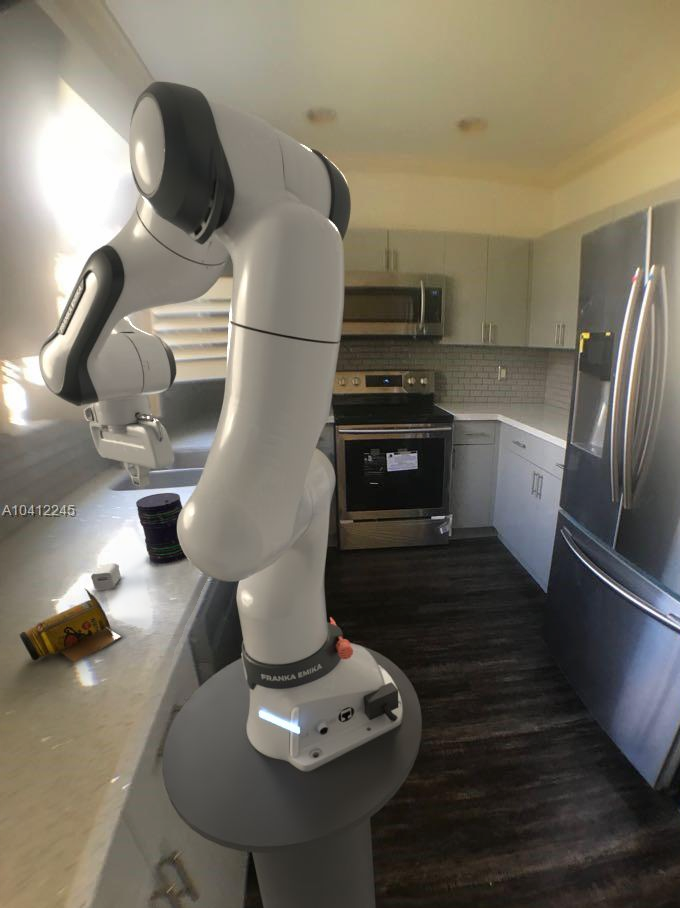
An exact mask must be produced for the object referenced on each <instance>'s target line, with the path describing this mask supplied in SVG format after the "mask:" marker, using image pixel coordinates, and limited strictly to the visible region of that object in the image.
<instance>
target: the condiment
mask: <svg viewBox="0 0 680 908" xmlns="http://www.w3.org/2000/svg"><path fill="white" fill-rule="evenodd" d="M84 590H85V592H86V594H87V596H88V598H89V600H86V601H84V602H82V603H79V604H77V605H75V606H73V607H71V608H68V609H66V610H64V611H61V612H60V613H56V614H55V615H53V616H50V617H48V618H45V619H44V620H42V621H38V623H37V624H36V625H35V626H33V627H30V628H29V629H27V630H25V631H22V632H21V633H19V637H20V639H21V642H22V644H23V645H24V647H25V650H26V651H27V652H28V654H29V657H30V658H31V660H32V661H38V660H39V659H41V658H44V657H47V656H48V655H49V654H53V655H54V654H56V653H60V652H59V651H61V650H63V649H65V648H67V647H69V646H71V645H73V644H75V643H77V642H79V641H81V640H83V639H85V638H87V637H89V636H91V635H93V634H95V633H97V632H99V631H101V630H104V629H105V628H108V629H109V630H110V631H111V632H112V631H113V630H112V628H111V625H110V622H109V618H108V616H107V615H106V612H105V611H104V609H103V607H102V604H101V602H100V600H99V599H98V598H96V596H95V595H94V594H92V593H91V592H90V591H89V590H88V589H86V588H84ZM112 634H113V633H112Z"/></svg>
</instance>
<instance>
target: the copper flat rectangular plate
mask: <svg viewBox="0 0 680 908" xmlns="http://www.w3.org/2000/svg"><path fill="white" fill-rule="evenodd" d="M112 633H113V634H112ZM121 638H122V636H121V635H119V634H118V633H116V632H115V631H113V630H112V632H111V631H110V630H109V629H108V628H107V627H106V628H105V629H104V630H101V631H99V632H97V633H95V634H93V635H91V636H89V637H87V638H85V639H83V640H81V641H79V642H77V643H75V644H73V645H71V646H69V647H67V648H65V649H63V650H61V651H59V652H58V653H61V654H62V655H63V656H65V657H66V658H67V659H69V660H70V661H72V663H77V662H79V661H80V660H82V659H84V658H86V657H88V656H90V655H92V654H93V653H95V652H98V651H99V650H101V649H103V648H105V647H107V646H108V645H110V644H112V643H114V642H116V641H118V640H120V639H121Z"/></svg>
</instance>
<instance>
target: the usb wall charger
mask: <svg viewBox="0 0 680 908" xmlns="http://www.w3.org/2000/svg"><path fill="white" fill-rule="evenodd" d="M90 578H91V581H92V584H93V587H94V589H95V590H96V591H102V590H103V591H104V590H110V589H114V588H115V586H116V585H117V583H118V582H119V580H121V578H122V575H121V572H120V565H119V564H117V563H113V562H112V563H105V564H100V565H99V566H98V567H97V568H96V570H94V572H92V574H91V576H90Z"/></svg>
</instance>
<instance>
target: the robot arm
mask: <svg viewBox="0 0 680 908" xmlns="http://www.w3.org/2000/svg"><path fill="white" fill-rule="evenodd" d="M128 149H129V150H128V151H129V161H130V162H129V163H130V169H131V174H132V178H133V181H134V184H135V187H136V189H137V191H138V196H137V200H136V203H135V206H134V210H133V212H132V213H131V216H130V218H129V219H128V220H127V222H126V224H124V225H123V227H122V229H120V231H119V232H118V233H117V234H116V235H115V236H114V237H113V238H112V239H111V240H110V241H108V242H107V243H106V244H104V245H102V246H100V247H99V248H97V249H96V250H94V251H93V252H92V253H91V254H90V256H89V257H88V258H87V260H86V262H85V263H84V265H83V267H82V269H81V271H80V274H79V276H78V277H77V280H76V282H75V285H74V286H73V289H72V291H71V293H70V295H69V298H68V300H67V302H66V305H65V307H64V309H63V311H62V314H61V316H60V318H59V320H58V322H57V325H56V326H55V328H54V330H53V331H52V332H51V333H50V335H48V337H47V338H46V339H45V341H44V342H43V344H42V346H41V348H40V349H39V354H38V365H39V370H40V374H41V377H42V380H43V382H44V384H45V386H46V387H47V389H48V390H49V391H50V392H51V393H52V394H54V395H55V396H57V397H58V398H60V399H62V400H64V401H65V402H67V403H70V404H72V405H74V406H76V407H83V406H86V407H85V408H84V409H83V416H84V419H85V421H87V422H89V430H90V434H91V437H92V440H93V443H94V446H95V448H96V451H97V453H98V455H100V457H101V458H104V459H108V460H114V461H117V462H122V463H123V465H124V468H125V470H126V472H127V473H128V474H129V476H130V478H131V483H132V485H135V486H139V487H142V488H144V487H147V486H150V484H151V481H150V477H149V476H150V472H151V469H154V470H160V469H161V470H162V469H164V468H168V467H172V466H173V465H174V463H175V455H174V451H173V447H172V444H171V441H170V437H169V434H168V432H167V430H166V428H165V426H164V425H162V423H161V422H160V421H159V420H158V419H157V417H156V415H154V414H153V410H152V406H151V405H152V404H151V402H150V401H151V400H150V395H157V394H160V393H163V392H166V391H168V390H169V389H170V388H171V387H172V386H173V384H174V382H175V380H176V377H177V363H176V359H175V355H174V352H173V351H172V348H170V346H169V345H168V343H166V341H164V340H163V339H162V338H161V337H159V336H158V335H156V334H151V333H148V332H145V331H143V330H141V329H139V328H137V327H135V326H134V325H133V324H132V322H131V321H130V318H129V317H128V316H130V315H133V314H134V313H138V312H141V311H145V310H148V309H152V308H157V307H162V306H168V305H176V304H181V303H186V302H191V301H194V300H197V299H199V298H201V297H202V296H204V295H205V294H207V292H209V291H210V289H212V287H214V285H215V284H216V283H217V282H218V280H219V279H220V277H221V276H222V274H223V272H224V269H225V268H226V265H227V263H228V261H229V258H231V262H232V271H233V272H232V286H231V287H232V288H231V294H230V305H229V321H228V337H227V338H228V339H227V355H226V369H225V384H224V392H223V393H224V394H223V401H222V402H223V403H222V407H221V411H220V415H219V419H218V422H217V426H216V430H215V432H214V436H213V439H212V443H211V446H210V449H209V451H208V455H207V458H206V462H205V464H204V467H203V470H202V472H201V475H200V478H199V480H198V482H197V484H196V485H195V488H194V490H193V492H192V493H191V495H190V496H189V498H188V499H187V501H186V502H185V504H184V505H183V506H182V507H183V508H182V510H181V512H180V514H179V517H178V521H177V535H178V539H179V543H180V545H181V548H182V550H183V552H184V554H185V555H186V558H187V559H188V561H189V562H190V563H191V564H192V565H193V566H194V567H195V569H197V570H198V571H199V572H201V573H203V575H206V576H208V577H210V578H212V579H214V580H218V581H221V582H230V583H231V582H233V583H234V582H238V584H237V589H236V605H237V610H238V617H239V622H240V628H241V634H242V639H243V640H242V642H241V658H242V661H243V667H244V672H245V677H246V681H247V682H248V685H249V687H250V707H249V715H248V720H247V735H248V738H249V741H250V742H251V744H252V745H253V746H254V748H255V749H257V750H258V751H259V752H261V753H262V754H264V755H266V756H269V757H272V758H276V759H280V760H285V761H288V762H290V763H291V764H292V765H294V766H295V767H296V768H298V769H299V770H301V771H305V772H308V771H312V770H314V769H316V768H318V767H320V766H321V765H323V764H325V763H327V762H329V761H331V760H333V759H335V758H337V757H339V756H341V755H343V754H345V753H347V752H349V751H351V750H353V749H355V748H357V747H358V746H360V745H362V744H364V743H366V742H368V741H370V740H372V739H374V738H376V737H378V736H380V735H382V734H384V733H386V732H388V731H390V730H392V729H393V728H395V727H397V726H399V725H400V724H401V722H402V718H403V706H402V700H401V696H400V694H399V691H398V689H397V687H396V685H395V683H394V681H393V680H392V678H391V677H390V675H389V674H388V673H387V672H386V671H385V670H384V669H383V668H382V667H381V666H379V665H378V664H377V662H376V661H375V659H374V658H373V657H372V655H371V654H370V653H369V652H368V651H367V650H366V649H365V648H363V647H364V646H363V645H360V644H357V643H353V642H350V640H348V639H346V638H344V635H343V634H344V633H343V631H342V629H341V627H339V626H338V625H337V624H336V621H335V620H334V618H333V617H332V616H330V617H329V619H330V622H329V621H328V618H327V604H326V591H325V572H326V560H327V552H328V551H327V550H328V541H329V528H330V516H331V515H330V514H331V504H332V499H333V495H334V492H335V487H336V473H335V469H334V466H333V464H332V462H331V460H330V459H329V458H328V457H327V455H326V454H325V453H324V452H322V450H320V449H318V448H317V445H318V443H319V440H320V437H321V435H322V432H323V430H324V428H325V427H326V424H327V422H328V420H329V417H330V412H331V408H332V407H331V406H332V399H333V393H334V385H335V379H336V372H337V367H338V358H339V353H340V347H341V346H340V345H341V342H340V341H341V336H342V331H343V330H342V329H343V320H344V308H345V287H346V286H345V285H346V284H345V282H346V280H345V278H346V277H345V271H346V269H345V248H344V242H343V240H344V238H345V236H346V233H347V231H348V227H349V223H350V219H351V210H352V203H351V202H352V201H351V193H350V188H349V184H348V181H347V179H346V177H345V175H344V174H343V172H342V171H341V170H340V168H339V167H338V166H337V165H336V164H335V163H333V162H332V161H331V160H330V159H329V158H328V157H327V156H326V155H324V154H323V153H321V152H320V151H319V150H316V149H314V148H308V147H307V146H305V145H304V144H303V143H301V142H299V141H298V140H296V139H295V138H293V137H292V136H290V135H288V134H286V133H285V132H283V131H281V130H280V129H278V128H276V127H274V126H273V125H271V124H270V122H268V121H267V120H266V119H265V118H262V117H260V116H257V115H255V114H253V113H252V112H249V111H247V110H244V109H242V108H239V107H237V106H235V105H232V104H229V103H227V102H224V101H221V100H218V99H214V98H212V97H208V96H205V94H204V93H203V92H202V91H201V90H199V89H197V88H196V87H192V86H189V85H185V84H180V83H176V82H170V81H159V80H158V81H154V82H152V83H151V84H149V85H148V87H146V88H145V89H144V91H142V92H141V94H139V96H138V98H137V100H136V101H135V104H134V107H133V110H132V115H131V119H130V125H129V132H128ZM87 405H88V406H87ZM352 643H353V644H352ZM356 644H357V645H356ZM359 645H360V646H359ZM362 646H363V647H362ZM315 756H318V757H317V758H314V757H315Z"/></svg>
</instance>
